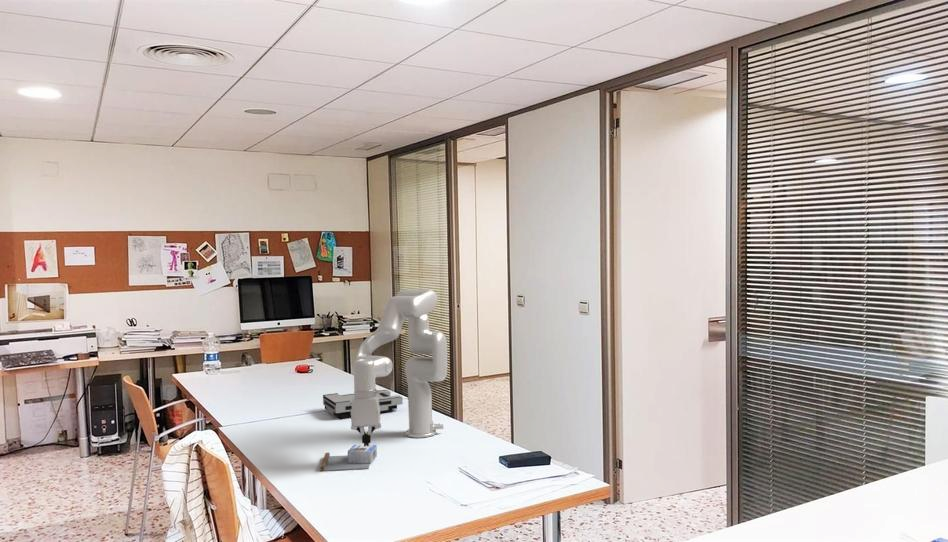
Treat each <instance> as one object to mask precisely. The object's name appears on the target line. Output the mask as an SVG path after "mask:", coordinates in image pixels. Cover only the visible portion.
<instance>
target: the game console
mask: <svg viewBox="0 0 948 542" xmlns="http://www.w3.org/2000/svg"><path fill="white" fill-rule="evenodd" d="M379 390H380V394H378V395H376V396H377V397H378V399H379V406H380V415H384V414H390V413H393V410H396V409H398V406H400V405H403V403H404V402H403V397H402V396H400V395H397V394H396V395H391V391H390V390H389V389H379ZM354 397H355V395H354V393H347V394H341V395H340V394H339V393H337V392H335V393H329V394H323V395H322V403H323V404H322V405H323V406H324V410H326V412H328V413H330V415H333V416H335V418H338V419H339V420H341V421H342V420H347V419H348V420H349V419H351V409H352V400H353V398H354Z"/></svg>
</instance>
